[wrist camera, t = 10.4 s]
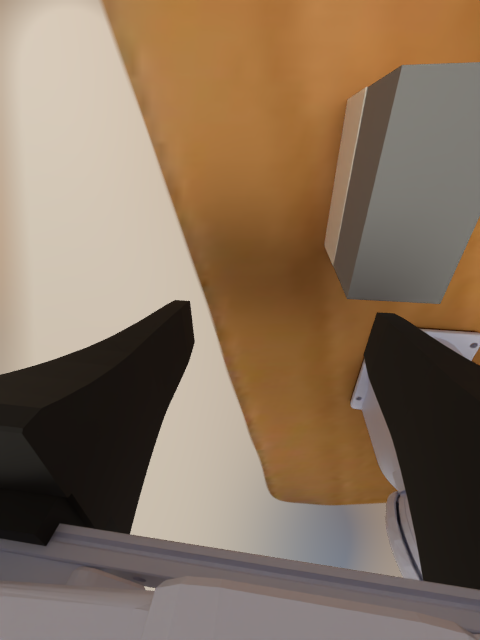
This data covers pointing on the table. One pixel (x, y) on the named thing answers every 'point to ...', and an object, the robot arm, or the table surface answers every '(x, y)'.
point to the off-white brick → (344, 170)
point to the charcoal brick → (412, 184)
